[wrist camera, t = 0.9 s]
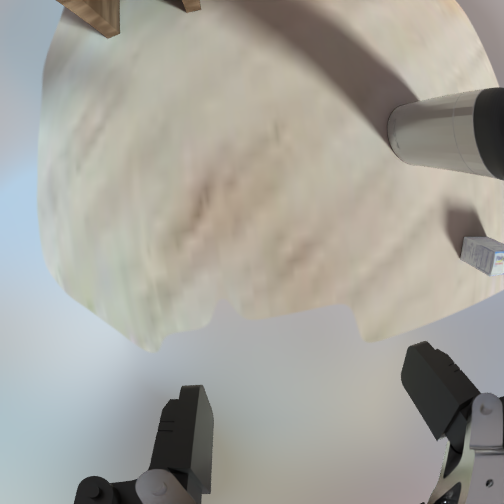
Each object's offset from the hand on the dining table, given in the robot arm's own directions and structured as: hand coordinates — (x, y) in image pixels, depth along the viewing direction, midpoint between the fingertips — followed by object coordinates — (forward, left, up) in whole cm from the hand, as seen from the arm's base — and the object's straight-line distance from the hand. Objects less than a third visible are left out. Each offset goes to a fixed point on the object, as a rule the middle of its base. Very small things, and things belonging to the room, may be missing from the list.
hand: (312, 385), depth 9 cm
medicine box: (-39, +10, -29) cm, 49 cm away
